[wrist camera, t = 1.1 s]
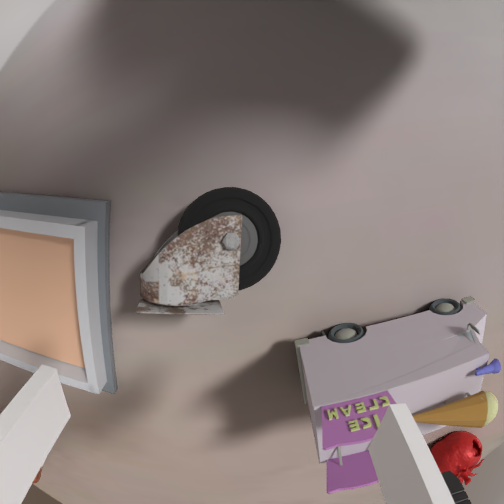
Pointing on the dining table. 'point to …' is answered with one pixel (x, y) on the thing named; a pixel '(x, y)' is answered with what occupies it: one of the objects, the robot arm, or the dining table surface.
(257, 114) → the dining table surface
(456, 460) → the pomegranate
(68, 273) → the tray
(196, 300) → the caster wheel
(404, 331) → the toy vehicle
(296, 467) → the dining table surface
